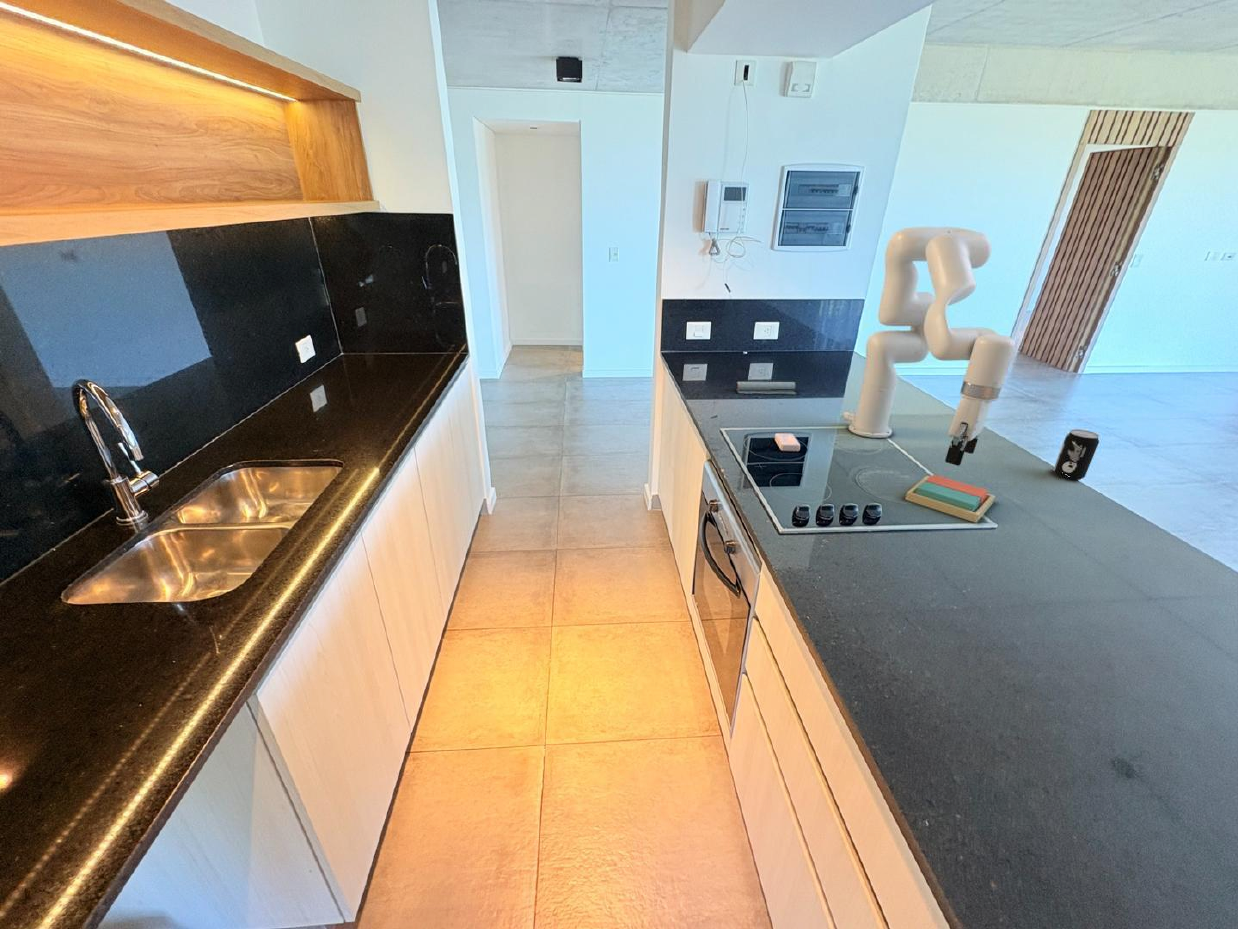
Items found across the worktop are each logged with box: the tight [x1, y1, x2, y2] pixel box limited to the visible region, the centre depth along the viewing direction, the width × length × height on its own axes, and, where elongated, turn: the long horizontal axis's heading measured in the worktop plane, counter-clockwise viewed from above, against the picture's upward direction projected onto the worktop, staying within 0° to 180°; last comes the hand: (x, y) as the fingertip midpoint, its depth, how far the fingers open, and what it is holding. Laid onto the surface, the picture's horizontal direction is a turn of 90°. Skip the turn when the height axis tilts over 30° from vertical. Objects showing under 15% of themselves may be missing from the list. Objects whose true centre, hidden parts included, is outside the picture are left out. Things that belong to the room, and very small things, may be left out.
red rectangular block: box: [926, 474, 989, 508], centre depth 127 cm, size 12×5×3 cm, turn 44°
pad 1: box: [916, 481, 981, 512], centre depth 124 cm, size 12×5×3 cm, turn 44°
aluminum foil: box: [735, 381, 797, 395], centre depth 207 cm, size 23×7×3 cm, turn 88°
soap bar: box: [774, 432, 801, 452], centre depth 157 cm, size 5×9×2 cm, turn 177°
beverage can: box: [1052, 428, 1100, 481], centre depth 136 cm, size 7×7×12 cm
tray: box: [904, 475, 996, 524], centre depth 126 cm, size 15×13×2 cm
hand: (959, 457), depth 128 cm, fingers open, 9 cm apart
